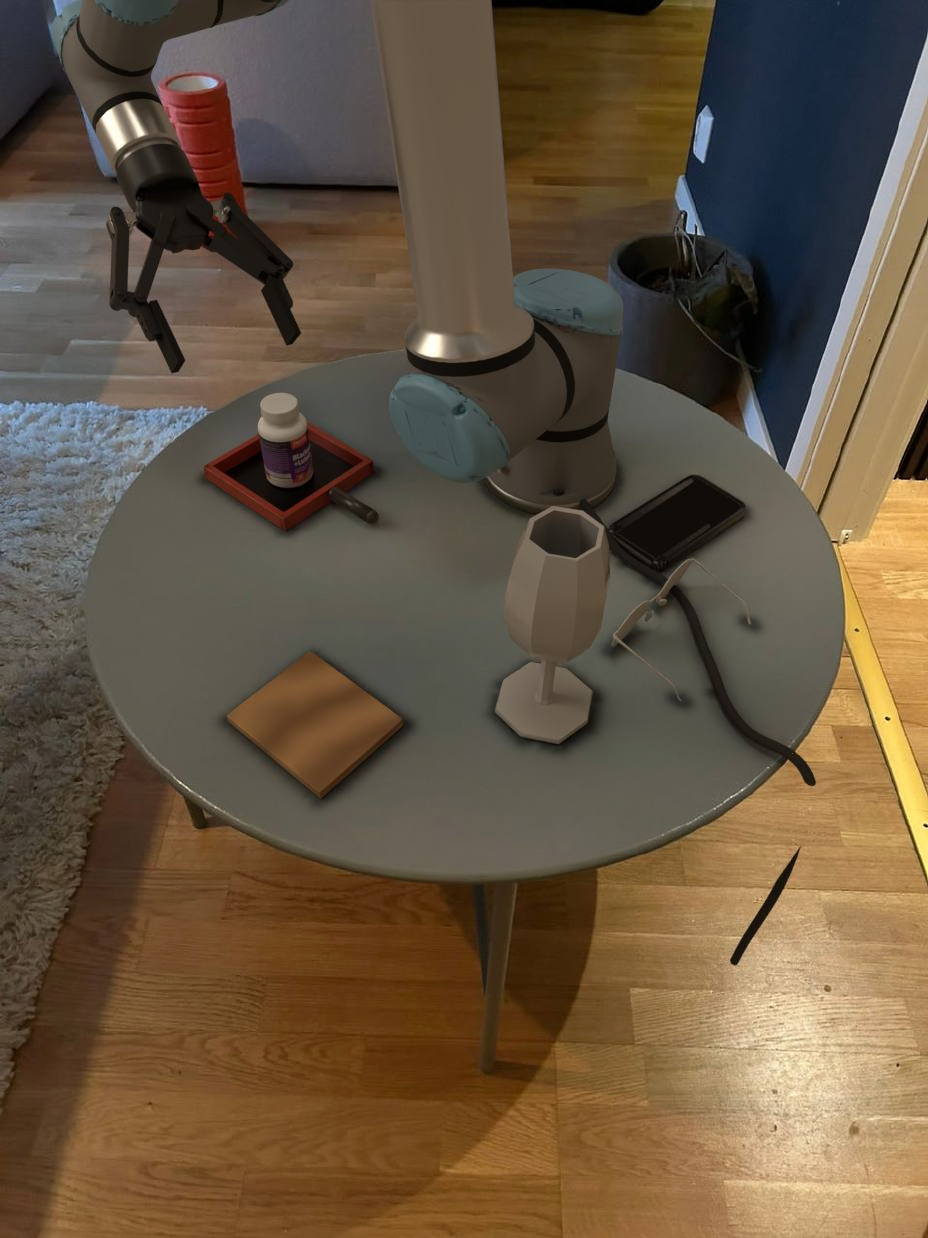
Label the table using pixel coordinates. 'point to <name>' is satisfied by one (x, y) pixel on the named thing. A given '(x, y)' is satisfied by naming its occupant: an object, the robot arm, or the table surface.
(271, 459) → the pill bottle
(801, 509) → the table surface
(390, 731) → the wooden board
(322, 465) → the pan
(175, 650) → the table surface
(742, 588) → the table surface
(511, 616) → the wineglass
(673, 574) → the sunglasses
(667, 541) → the phone
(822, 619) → the table surface
